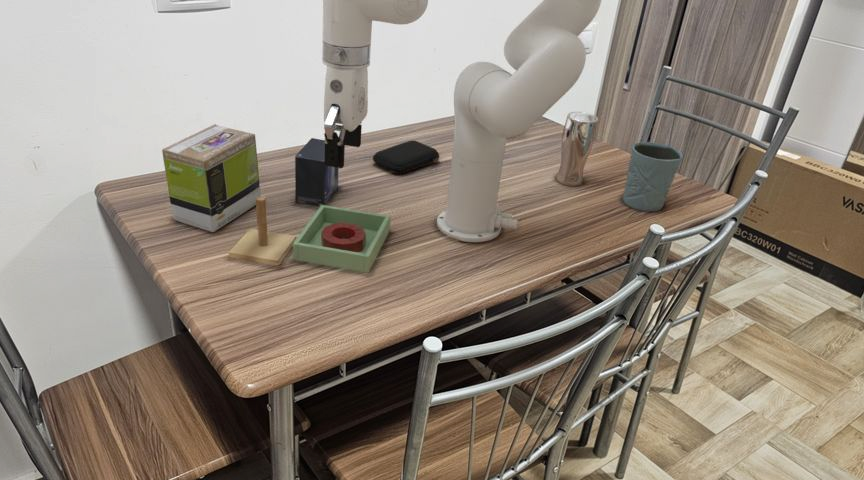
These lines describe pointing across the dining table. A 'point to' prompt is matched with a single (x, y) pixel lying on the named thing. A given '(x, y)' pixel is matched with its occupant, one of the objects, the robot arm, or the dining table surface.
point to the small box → (314, 175)
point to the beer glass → (576, 147)
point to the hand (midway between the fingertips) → (343, 155)
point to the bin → (372, 223)
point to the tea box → (212, 177)
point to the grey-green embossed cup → (650, 175)
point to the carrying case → (406, 157)
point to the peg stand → (262, 241)
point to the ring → (350, 232)
